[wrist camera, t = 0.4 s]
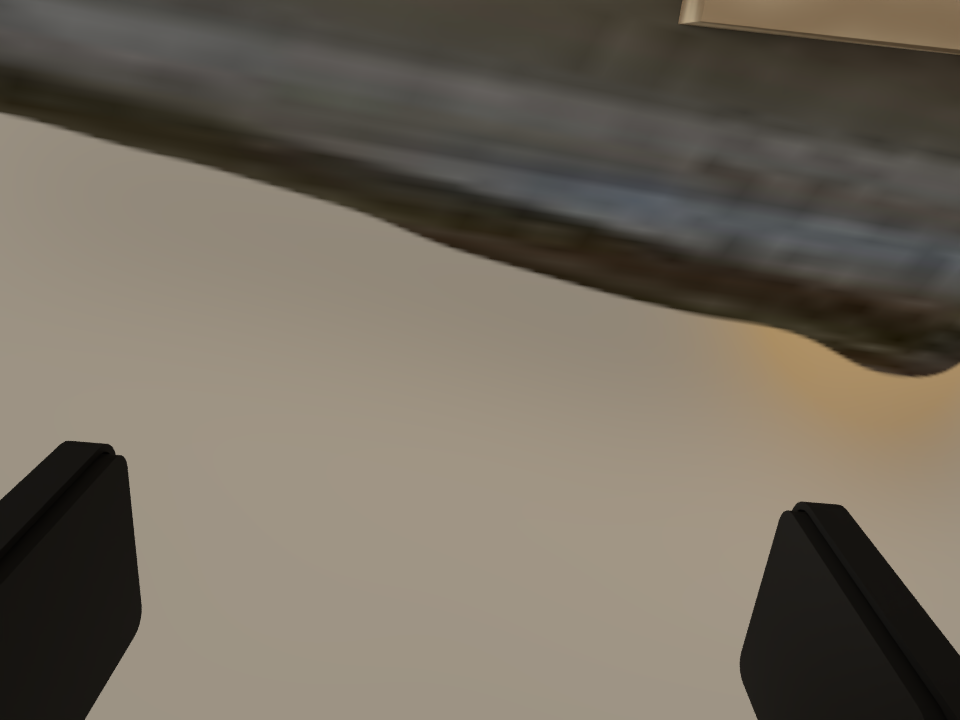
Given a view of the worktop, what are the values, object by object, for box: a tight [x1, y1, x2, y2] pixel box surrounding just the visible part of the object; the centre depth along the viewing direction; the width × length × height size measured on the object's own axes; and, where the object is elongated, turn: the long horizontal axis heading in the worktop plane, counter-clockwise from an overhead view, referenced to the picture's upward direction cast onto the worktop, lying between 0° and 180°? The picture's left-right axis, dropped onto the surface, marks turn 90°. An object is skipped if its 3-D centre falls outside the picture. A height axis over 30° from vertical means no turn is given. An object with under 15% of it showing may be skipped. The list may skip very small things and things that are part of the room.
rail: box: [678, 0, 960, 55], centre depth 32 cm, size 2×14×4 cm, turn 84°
